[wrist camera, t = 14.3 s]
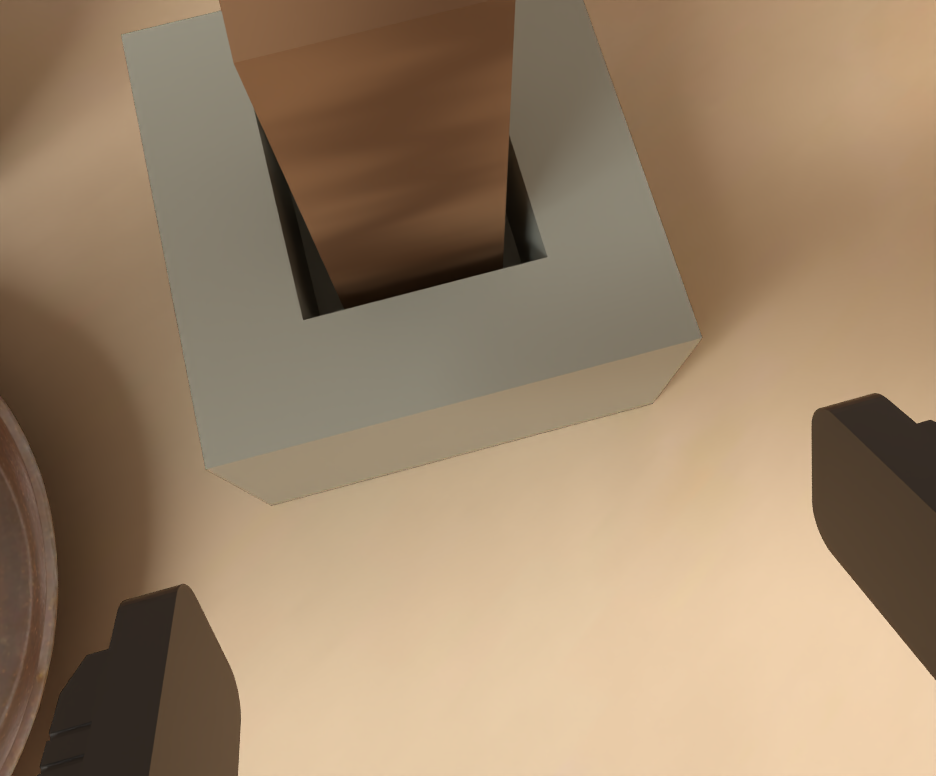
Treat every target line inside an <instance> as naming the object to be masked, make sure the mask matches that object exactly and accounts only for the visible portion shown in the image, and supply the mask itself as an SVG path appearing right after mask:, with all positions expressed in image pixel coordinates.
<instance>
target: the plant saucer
mask: <svg viewBox="0 0 936 776" xmlns="http://www.w3.org/2000/svg"><path fill="white" fill-rule="evenodd" d="M57 608H58V567H57V552H56V543H55V534H54V527H53V521H52V516H51V510H50V505H49V501H48V497H47V493H46V489H45V485H44V482H43V479H42V476H41V473H40V471H39V468H38V465H37V463H36V460H35V458H34V455H33V453H32V450H31V448H30V445H29V443H28V441H27V438H26V437H25V435H24V433H23V431H22V429H21V427H20V425H19V424H18V422H17V420H16V418H15V417H14V415H13V413H12V412H11V410H10V409H9V407H8V405H7V404H6V402H5V401H4V400H3V398H2V397H1V396H0V776H11V775H12V773H13V771H14V769H15V767H16V765H17V762H18V760H19V758H20V756H21V754H22V752H23V749H24V747H25V744H26V741H27V739H28V736H29V734H30V731H31V729H32V726H33V723H34V721H35V718H36V715H37V713H38V710H39V707H40V703H41V699H42V695H43V692H44V688H45V684H46V680H47V676H48V671H49V666H50V662H51V657H52V652H53V647H54V638H55V629H56V621H57Z"/></svg>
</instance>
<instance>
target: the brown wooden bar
mask: <svg viewBox="0 0 936 776" xmlns="http://www.w3.org/2000/svg"><path fill="white" fill-rule="evenodd" d="M515 1H516V0H219V2H220V7H221V11H222V15H223V20H224V24H225V28H226V33H227V37H228V41H229V46H230V50H231V54H232V59H233V63H234V65H235V67H236V70H237V72H238V74H239V76H240V79H241V81H242V83H243V85H244V87H245V90H246V92H247V94H248V96H249V99H250V101H251V103H252V105H253V107H254V110H255V112H256V114H257V116H258V119H259V121H260V123H261V125H262V127H263V130H264V132H265V134H266V136H267V139H268V141H269V143H270V145H271V148H272V150H273V152H274V154H275V156H276V159H277V161H278V163H279V165H280V168H281V170H282V172H283V174H284V176H285V179H286V181H287V183H288V185H289V188H290V190H291V192H292V194H293V196H294V199H295V201H296V203H297V205H298V208H299V210H300V212H301V214H302V216H303V219H304V221H305V223H306V225H307V228H308V230H309V232H310V234H311V236H312V239H313V241H314V243H315V245H316V248H317V250H318V252H319V254H320V256H321V259H322V261H323V263H324V265H325V268H326V270H327V272H328V274H329V276H330V279H331V281H332V283H333V285H334V288H335V290H336V292H337V294H338V296H339V299H340V301H341V303H342V305H343V308H344V310H345V309H349V308H353V307H356V306H360V305H364V304H368V303H372V302H376V301H380V300H384V299H387V298H391V297H395V296H399V295H403V294H407V293H411V292H415V291H418V290H422V289H426V288H430V287H434V286H438V285H442V284H446V283H449V282H453V281H457V280H461V279H465V278H469V277H473V276H477V275H480V274H484V273H488V272H492V271H496V270H500V269H503V253H504V232H505V211H506V190H507V169H508V148H509V127H510V106H511V85H512V64H513V43H514V22H515Z"/></svg>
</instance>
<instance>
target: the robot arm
mask: <svg viewBox="0 0 936 776" xmlns="http://www.w3.org/2000/svg"><path fill="white" fill-rule="evenodd" d="M812 505H813V513H814V517H815V521H816V524H817V527H818V530H819V532H820V534H821V537H822V539H823V541H824V542H825V544H826V546H827V548H828V549H829V550H830V552H831V553H832V554H833V556H834V557H835V558H836V559H837V561H838V562H839V563H840V564H841V565H842V567H843V568H844V569H845V570H846V571H847V573H848V574H849V575H850V576H851V578H852V579H853V580H854V581H855V582H856V584H857V585H858V586H859V587H860V588H861V590H862V591H863V592H864V593H865V595H866V596H867V597H868V598H869V599H870V601H871V602H872V603H873V604H874V606H875V607H876V608H877V609H878V610H879V612H880V613H881V614H882V615H883V616H884V618H885V619H886V620H887V621H888V623H889V624H890V625H891V626H892V627H893V629H894V630H895V631H896V632H897V633H898V635H899V636H900V637H901V638H902V640H903V641H904V642H905V643H906V644H907V646H908V647H909V648H910V649H911V651H912V652H913V653H914V654H915V655H916V657H917V658H918V659H919V660H920V661H921V663H922V664H923V665H924V666H925V668H926V669H927V670H928V671H929V672H930V674H931V675H932V676H933V677H934V678H935V680H936V422H935V421H932V420H928V421H925V422H921V423H917V424H916V423H915V422H914V421H913V420H912V419H911V418H909V417H908V416H907V415H906V414H905V413H903V412H902V411H901V410H900V409H899V408H898V407H896V406H895V405H894V404H893V403H892V402H891V401H889V400H888V399H887V398H886V397H884V396H882V395H880V394H876V393H874V394H870V395H866V396H862V397H859V398H855V399H852V400H848V401H844V402H841V403H837V404H834V405H830V406H827V407H823V408H819V409H818V410H816V411H815V413H814V415H813V418H812ZM240 726H241V710H240V701H239V695H238V689H237V685H236V681H235V678H234V675H233V672H232V670H231V667H230V665H229V663H228V661H227V659H226V657H225V655H224V653H223V651H222V649H221V647H220V645H219V643H218V641H217V639H216V637H215V635H214V633H213V631H212V629H211V627H210V625H209V623H208V621H207V618H206V616H205V614H204V612H203V610H202V608H201V606H200V604H199V602H198V600H197V598H196V596H195V594H194V593H193V591H192V590H191V588H190V587H189V586H187V585H186V584H181V585H178V586H174V587H171V588H167V589H163V590H160V591H156V592H153V593H149V594H145V595H142V596H138V597H135V598H131V599H128V600H125V601H123V602H122V603H121V604H120V606H119V608H118V612H117V616H116V620H115V625H114V629H113V633H112V637H111V642H110V646H109V649H107V650H103V651H100V652H96V653H93V654H89V655H87V656H86V657H85V659H84V660H83V661H82V663H81V664H80V666H79V667H78V669H77V670H76V672H75V673H74V674H73V676H72V677H71V679H70V680H69V682H68V683H67V685H66V686H65V687H64V689H63V690H62V692H61V693H60V696H59V699H58V703H57V706H56V710H55V714H54V717H53V721H52V724H51V728H50V731H49V735H50V741H47V742H46V746H45V749H44V753H43V756H42V760H41V764H40V768H41V774H39V775H37V776H238V763H239V744H240Z"/></svg>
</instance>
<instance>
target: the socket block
mask: <svg viewBox="0 0 936 776" xmlns="http://www.w3.org/2000/svg"><path fill="white" fill-rule="evenodd" d="M121 37H122V42H123V47H124V52H125V57H126V62H127V67H128V73H129V78H130V83H131V88H132V93H133V98H134V103H135V109H136V114H137V119H138V124H139V129H140V134H141V139H142V145H143V150H144V155H145V160H146V165H147V170H148V175H149V181H150V186H151V191H152V196H153V201H154V206H155V212H156V217H157V222H158V227H159V232H160V237H161V242H162V248H163V253H164V258H165V263H166V268H167V273H168V278H169V284H170V289H171V294H172V299H173V304H174V309H175V314H176V320H177V325H178V330H179V335H180V340H181V345H182V350H183V356H184V361H185V366H186V371H187V376H188V381H189V386H190V392H191V397H192V402H193V407H194V412H195V417H196V422H197V428H198V433H199V438H200V443H201V448H202V453H203V458H204V464H205V469H206V470H208V471H209V472H211V473H213V474H215V475H217V476H219V477H220V478H222V479H224V480H226V481H228V482H229V483H231V484H233V485H235V486H237V487H238V488H240V489H242V490H244V491H246V492H248V493H249V494H251V495H253V496H255V497H257V498H258V499H260V500H262V501H264V502H266V503H267V504H269V505H271V506H272V505H275V504H279V503H283V502H287V501H290V500H294V499H298V498H302V497H305V496H309V495H313V494H317V493H320V492H324V491H328V490H331V489H335V488H339V487H343V486H346V485H350V484H354V483H358V482H361V481H365V480H369V479H373V478H376V477H380V476H384V475H388V474H391V473H395V472H399V471H402V470H406V469H410V468H414V467H417V466H421V465H425V464H429V463H432V462H436V461H440V460H444V459H447V458H451V457H455V456H458V455H462V454H466V453H470V452H473V451H477V450H481V449H485V448H488V447H492V446H496V445H500V444H503V443H507V442H511V441H514V440H518V439H522V438H526V437H529V436H533V435H537V434H541V433H544V432H548V431H552V430H556V429H559V428H563V427H567V426H570V425H574V424H578V423H582V422H585V421H589V420H593V419H597V418H600V417H604V416H608V415H612V414H615V413H619V412H623V411H626V410H630V409H634V408H638V407H641V406H645V405H649V404H653V402H654V401H655V400H656V398H657V397H658V396H659V394H660V393H661V392H662V390H663V389H664V388H665V387H666V385H667V384H668V383H669V381H670V380H671V379H672V377H673V376H674V375H675V373H676V372H677V371H678V369H679V368H680V367H681V365H682V364H683V363H684V361H685V360H686V359H687V357H688V356H689V355H690V353H691V352H692V351H693V350H694V348H695V347H696V346H697V344H698V343H699V342H700V340H701V339H702V335H701V333H700V330H699V327H698V324H697V321H696V318H695V316H694V313H693V310H692V307H691V304H690V301H689V299H688V296H687V293H686V290H685V287H684V284H683V282H682V279H681V276H680V273H679V270H678V267H677V265H676V262H675V259H674V256H673V253H672V250H671V248H670V245H669V242H668V239H667V236H666V233H665V231H664V228H663V225H662V222H661V219H660V216H659V214H658V211H657V208H656V205H655V202H654V199H653V197H652V194H651V191H650V188H649V185H648V182H647V180H646V177H645V174H644V171H643V168H642V165H641V163H640V160H639V157H638V154H637V151H636V148H635V146H634V143H633V140H632V137H631V134H630V131H629V129H628V126H627V123H626V120H625V117H624V114H623V112H622V109H621V106H620V103H619V100H618V97H617V95H616V92H615V89H614V86H613V83H612V80H611V78H610V75H609V72H608V69H607V66H606V63H605V60H604V58H603V55H602V52H601V49H600V46H599V43H598V41H597V38H596V35H595V32H594V29H593V26H592V24H591V21H590V18H589V15H588V12H587V9H586V7H585V4H584V1H583V0H516V1H515V22H514V43H513V64H512V85H511V106H510V127H509V148H508V169H507V190H506V211H505V232H504V253H503V269H500V270H496V271H492V272H488V273H484V274H480V275H477V276H473V277H469V278H465V279H461V280H457V281H453V282H449V283H446V284H442V285H438V286H434V287H430V288H426V289H422V290H418V291H415V292H411V293H407V294H403V295H399V296H395V297H391V298H387V299H384V300H380V301H376V302H372V303H368V304H364V305H360V306H356V307H353V308H349V309H345V310H344V308H343V305H342V303H341V301H340V299H339V296H338V294H337V292H336V290H335V288H334V285H333V283H332V281H331V279H330V276H329V274H328V272H327V270H326V268H325V265H324V263H323V261H322V259H321V256H320V254H319V252H318V250H317V248H316V245H315V243H314V241H313V239H312V236H311V234H310V232H309V230H308V228H307V225H306V223H305V221H304V219H303V216H302V214H301V212H300V210H299V208H298V205H297V203H296V201H295V199H294V196H293V194H292V192H291V190H290V188H289V185H288V183H287V181H286V179H285V176H284V174H283V172H282V170H281V168H280V165H279V163H278V161H277V159H276V156H275V154H274V152H273V150H272V148H271V145H270V143H269V141H268V139H267V136H266V134H265V132H264V130H263V127H262V125H261V123H260V121H259V119H258V116H257V114H256V112H255V110H254V107H253V105H252V103H251V101H250V99H249V96H248V94H247V92H246V90H245V87H244V85H243V83H242V81H241V79H240V76H239V74H238V72H237V70H236V67H235V65H234V63H233V59H232V54H231V50H230V46H229V41H228V37H227V33H226V28H225V24H224V20H223V15H222V11H217V12H213V13H209V14H205V15H201V16H196V17H192V18H188V19H184V20H180V21H176V22H171V23H167V24H163V25H159V26H155V27H151V28H146V29H142V30H138V31H134V32H130V33H126V34H121Z"/></svg>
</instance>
